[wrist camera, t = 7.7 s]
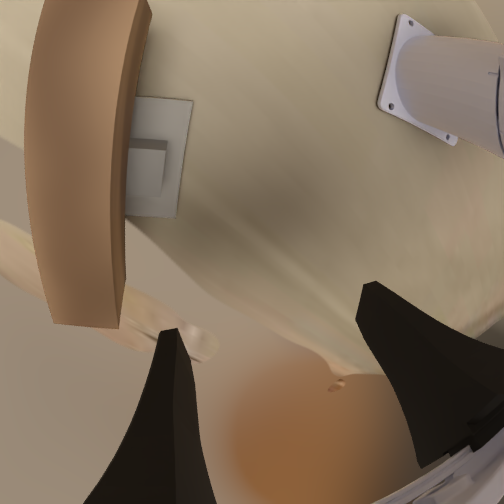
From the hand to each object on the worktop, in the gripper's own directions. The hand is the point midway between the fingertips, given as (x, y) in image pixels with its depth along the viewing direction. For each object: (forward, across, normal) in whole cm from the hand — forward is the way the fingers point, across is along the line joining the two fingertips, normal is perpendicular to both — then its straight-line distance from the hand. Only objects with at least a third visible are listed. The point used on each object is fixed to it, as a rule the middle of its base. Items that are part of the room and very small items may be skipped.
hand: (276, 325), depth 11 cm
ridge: (+10, +7, -5) cm, 13 cm away
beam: (+7, +7, -6) cm, 11 cm away
